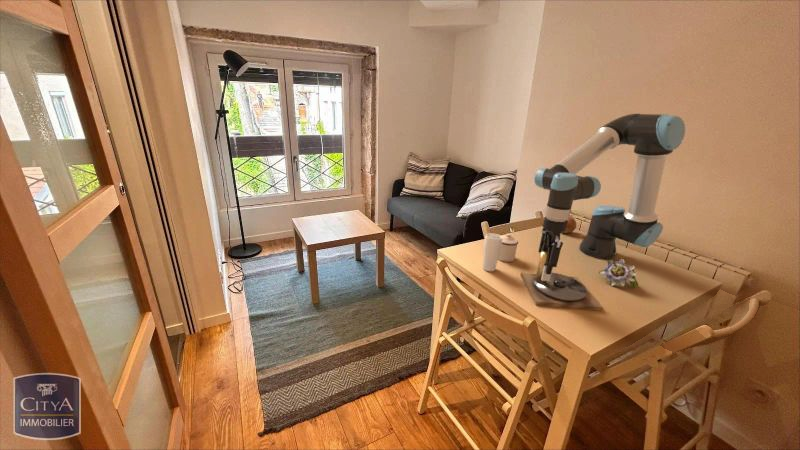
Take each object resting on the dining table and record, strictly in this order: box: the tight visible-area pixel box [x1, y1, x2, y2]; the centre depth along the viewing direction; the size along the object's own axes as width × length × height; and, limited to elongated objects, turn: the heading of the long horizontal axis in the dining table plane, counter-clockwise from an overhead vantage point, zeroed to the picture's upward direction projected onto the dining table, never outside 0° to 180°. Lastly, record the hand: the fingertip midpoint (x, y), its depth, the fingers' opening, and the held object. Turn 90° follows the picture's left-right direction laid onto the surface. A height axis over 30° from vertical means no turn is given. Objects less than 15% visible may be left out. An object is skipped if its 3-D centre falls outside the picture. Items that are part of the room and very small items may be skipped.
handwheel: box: [533, 250, 587, 302], centre depth 114 cm, size 18×18×13 cm
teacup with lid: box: [497, 233, 519, 263], centre depth 141 cm, size 12×9×12 cm
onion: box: [562, 215, 577, 234], centre depth 173 cm, size 10×10×10 cm
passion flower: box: [598, 258, 639, 289], centre depth 124 cm, size 11×11×12 cm
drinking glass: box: [482, 232, 503, 272], centre depth 129 cm, size 7×7×15 cm
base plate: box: [520, 272, 603, 311], centre depth 117 cm, size 22×20×2 cm
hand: (542, 276), depth 117 cm, fingers open, 5 cm apart
